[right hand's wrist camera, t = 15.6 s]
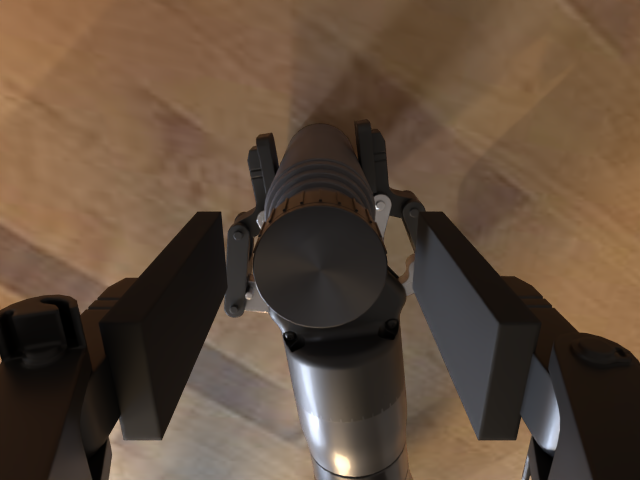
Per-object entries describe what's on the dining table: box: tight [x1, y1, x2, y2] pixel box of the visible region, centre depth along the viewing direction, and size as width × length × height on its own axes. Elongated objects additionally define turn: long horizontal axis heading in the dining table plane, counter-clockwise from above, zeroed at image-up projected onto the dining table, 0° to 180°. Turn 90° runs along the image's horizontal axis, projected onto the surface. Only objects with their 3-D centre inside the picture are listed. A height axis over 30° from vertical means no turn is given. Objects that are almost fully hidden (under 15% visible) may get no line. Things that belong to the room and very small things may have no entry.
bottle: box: [264, 124, 376, 222], centre depth 21 cm, size 5×5×18 cm
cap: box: [253, 189, 388, 328], centre depth 13 cm, size 4×4×2 cm
